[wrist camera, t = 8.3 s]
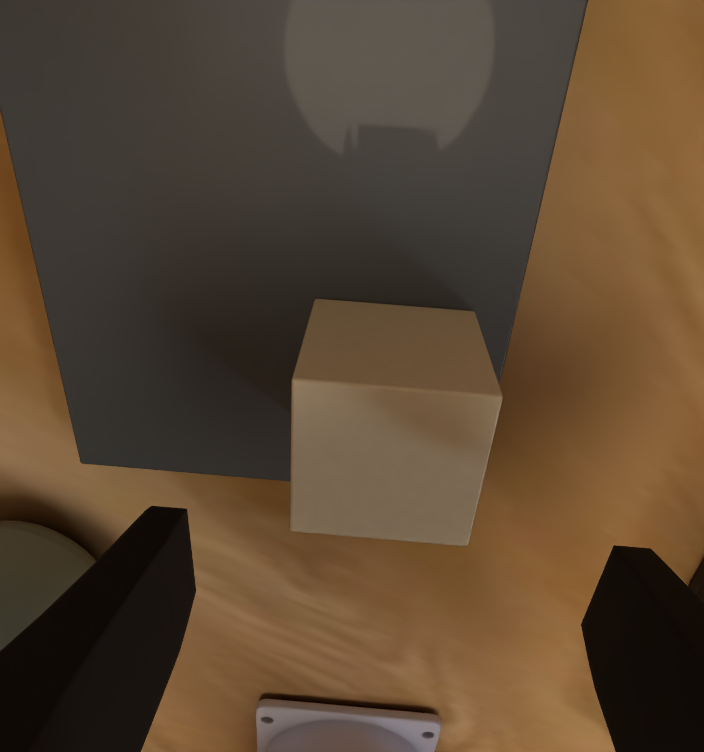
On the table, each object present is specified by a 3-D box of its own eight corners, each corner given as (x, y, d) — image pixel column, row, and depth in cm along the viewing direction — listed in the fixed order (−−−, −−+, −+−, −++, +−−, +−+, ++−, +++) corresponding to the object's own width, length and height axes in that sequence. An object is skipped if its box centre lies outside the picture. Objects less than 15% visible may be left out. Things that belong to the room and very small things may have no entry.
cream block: (450, 439, 16) (467, 548, 13) (310, 428, 16) (289, 532, 13) (475, 310, 14) (504, 396, 11) (314, 297, 14) (291, 379, 11)
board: (469, 476, 18) (473, 497, 17) (94, 444, 18) (80, 463, 17) (594, -87, 11) (611, -98, 10) (-25, -131, 11) (-60, -146, 10)
